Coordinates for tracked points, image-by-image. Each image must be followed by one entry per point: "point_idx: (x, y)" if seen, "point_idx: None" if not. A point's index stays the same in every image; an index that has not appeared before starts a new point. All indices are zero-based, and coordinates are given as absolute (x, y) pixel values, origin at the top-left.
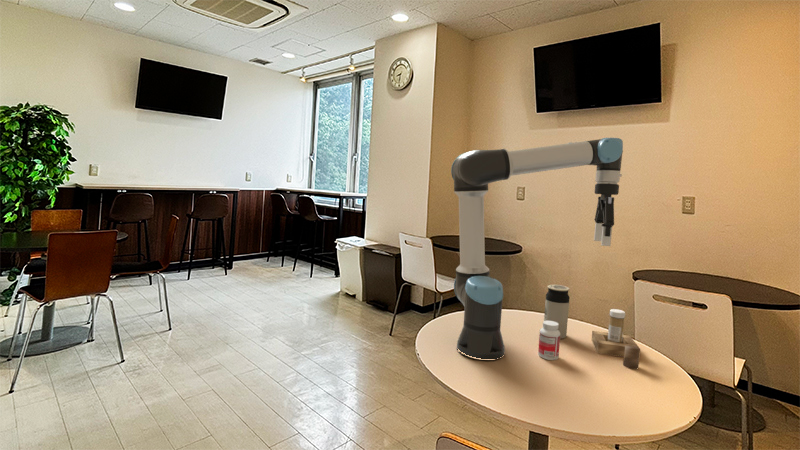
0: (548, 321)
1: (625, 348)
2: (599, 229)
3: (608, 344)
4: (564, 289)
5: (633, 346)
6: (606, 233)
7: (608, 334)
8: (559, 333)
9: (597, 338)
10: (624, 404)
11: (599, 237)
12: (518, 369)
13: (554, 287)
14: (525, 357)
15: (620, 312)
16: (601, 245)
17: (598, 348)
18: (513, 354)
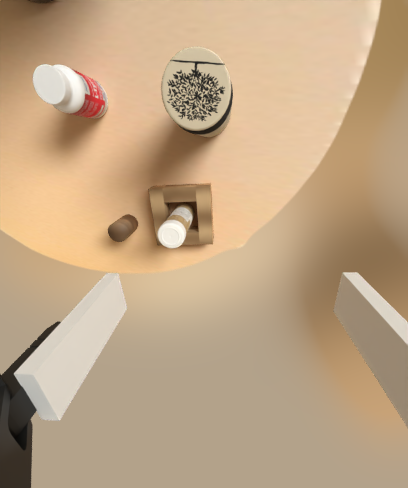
0: (55, 78)
1: (115, 222)
2: (388, 361)
3: (151, 203)
4: (172, 112)
5: (123, 235)
6: (41, 341)
7: (177, 209)
8: (60, 110)
9: (170, 190)
10: (14, 194)
11: (348, 313)
12: (8, 44)
13: (182, 75)
14: (63, 53)
15: (160, 239)
16: (108, 273)
17: (151, 187)
18: (61, 25)
